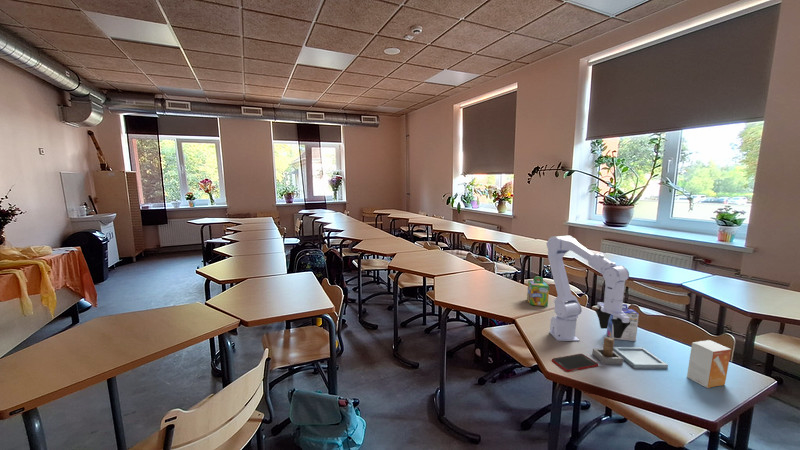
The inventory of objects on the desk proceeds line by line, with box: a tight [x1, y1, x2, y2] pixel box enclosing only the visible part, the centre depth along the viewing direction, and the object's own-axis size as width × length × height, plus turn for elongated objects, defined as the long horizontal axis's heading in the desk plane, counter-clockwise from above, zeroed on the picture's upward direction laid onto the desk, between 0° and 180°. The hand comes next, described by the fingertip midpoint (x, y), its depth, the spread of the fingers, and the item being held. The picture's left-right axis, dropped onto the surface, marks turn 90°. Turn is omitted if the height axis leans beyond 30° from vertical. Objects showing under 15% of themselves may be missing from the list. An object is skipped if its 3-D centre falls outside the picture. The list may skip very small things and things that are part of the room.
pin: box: [602, 336, 615, 357], centre depth 119 cm, size 3×3×8 cm
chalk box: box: [526, 276, 550, 307], centre depth 173 cm, size 9×9×15 cm
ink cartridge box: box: [606, 303, 640, 342], centre depth 135 cm, size 10×6×14 cm, turn 78°
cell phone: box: [551, 353, 599, 373], centre depth 116 cm, size 8×15×1 cm, turn 106°
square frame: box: [592, 347, 624, 365], centre depth 119 cm, size 7×7×2 cm
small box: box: [686, 339, 732, 389], centre depth 105 cm, size 8×6×13 cm
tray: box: [613, 346, 669, 370], centre depth 119 cm, size 12×12×2 cm
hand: (610, 332), depth 118 cm, fingers open, 7 cm apart
